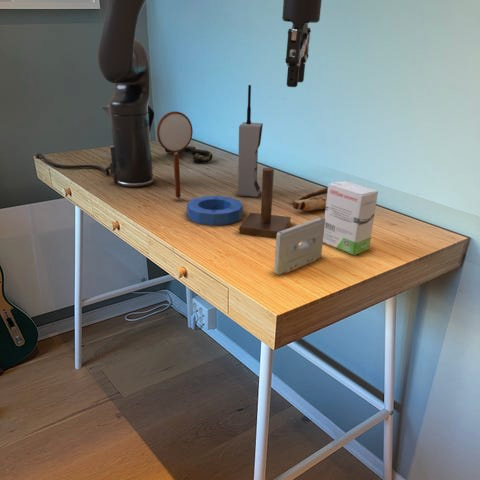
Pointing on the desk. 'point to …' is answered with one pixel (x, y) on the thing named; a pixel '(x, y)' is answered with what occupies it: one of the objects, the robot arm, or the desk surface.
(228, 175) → the desk surface
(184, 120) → the magnifying glass
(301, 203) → the lashed bone hook
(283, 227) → the peg stand
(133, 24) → the robot arm
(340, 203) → the ink box
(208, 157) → the rubber snake
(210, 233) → the desk surface
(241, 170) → the vintage mobile phone
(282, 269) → the cassette
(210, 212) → the tape roll
